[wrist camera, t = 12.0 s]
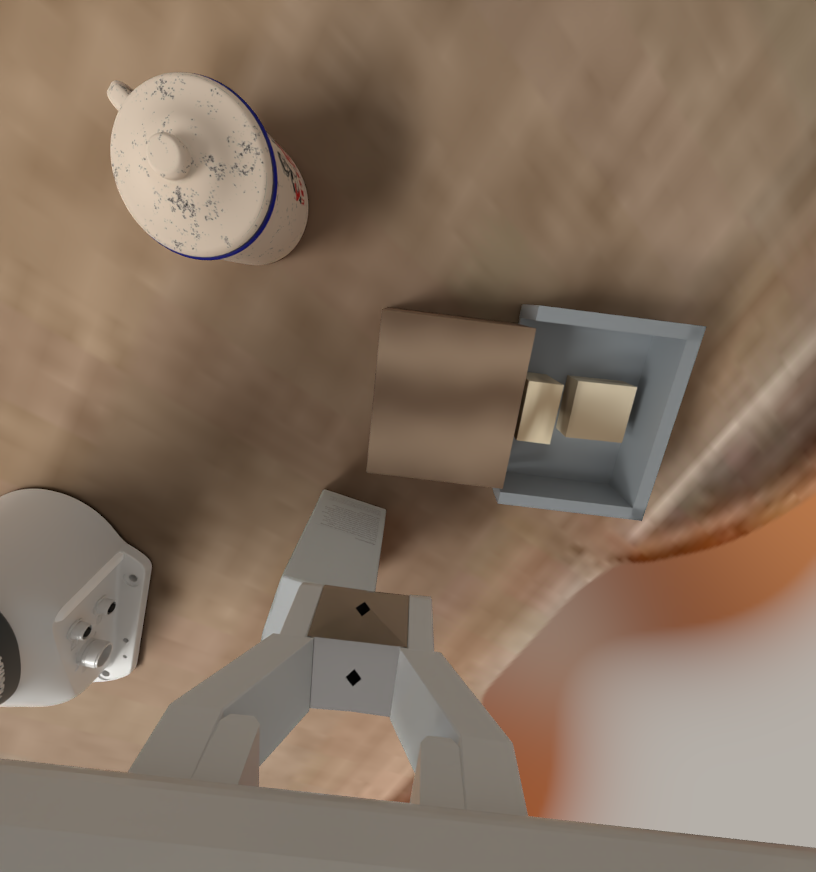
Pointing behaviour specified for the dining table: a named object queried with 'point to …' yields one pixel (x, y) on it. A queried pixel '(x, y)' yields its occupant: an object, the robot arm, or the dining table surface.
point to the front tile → (538, 408)
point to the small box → (331, 552)
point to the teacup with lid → (204, 171)
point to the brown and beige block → (447, 396)
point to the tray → (647, 425)
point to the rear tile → (595, 408)
